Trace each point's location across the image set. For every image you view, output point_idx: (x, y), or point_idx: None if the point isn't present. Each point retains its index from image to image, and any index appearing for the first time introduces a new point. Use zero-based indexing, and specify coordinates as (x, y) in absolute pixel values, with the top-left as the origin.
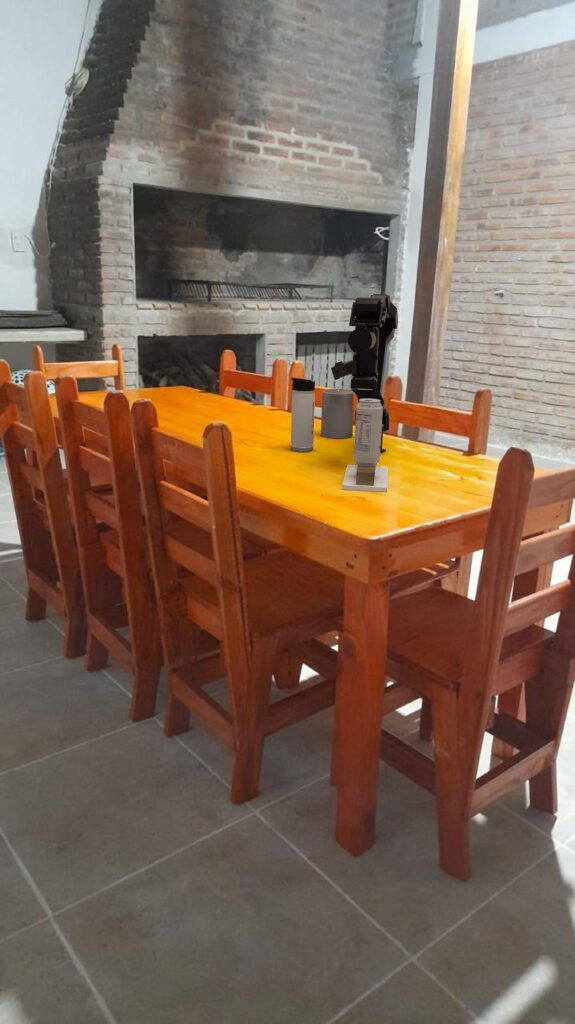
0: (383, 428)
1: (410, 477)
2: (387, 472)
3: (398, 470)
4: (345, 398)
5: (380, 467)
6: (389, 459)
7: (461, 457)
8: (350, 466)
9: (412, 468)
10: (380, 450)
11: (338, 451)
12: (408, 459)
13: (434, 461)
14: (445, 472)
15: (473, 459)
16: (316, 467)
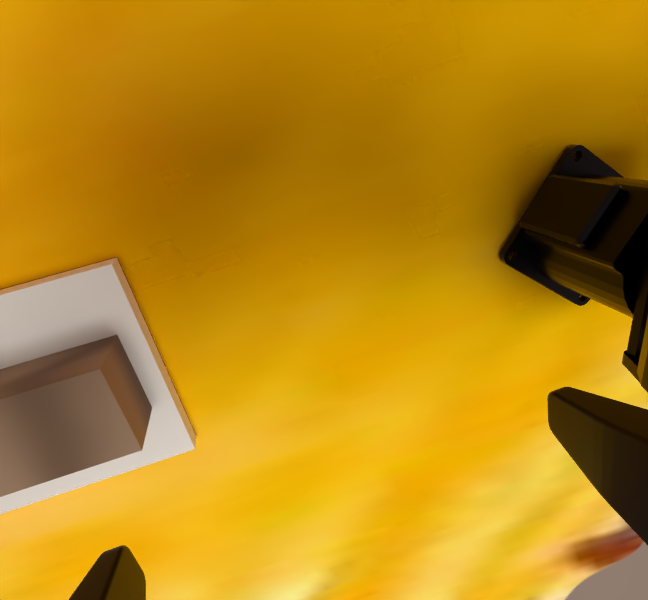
0: (633, 362)
1: (133, 543)
2: (73, 488)
3: (231, 467)
4: None
5: (159, 428)
6: (425, 365)
7: (544, 552)
8: (76, 294)
9: (298, 494)
10: (557, 288)
11: (523, 58)
12: (454, 428)
13: (453, 511)
14: (293, 595)
15: (525, 585)
16: (17, 58)
